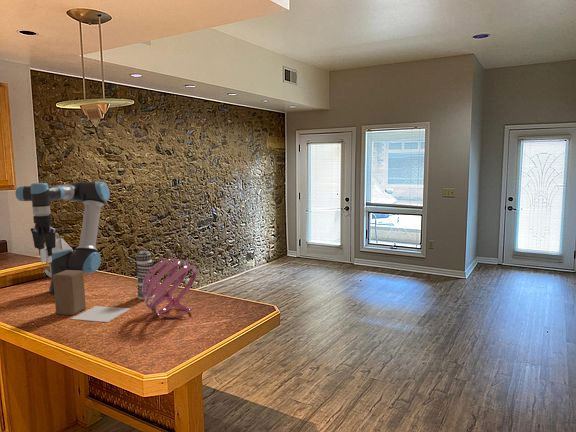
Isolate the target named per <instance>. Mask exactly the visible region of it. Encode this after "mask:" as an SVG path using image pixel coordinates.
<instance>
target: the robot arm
mask: <svg viewBox="0 0 576 432" xmlns="http://www.w3.org/2000/svg"><path fill="white" fill-rule="evenodd" d="M14 192H15V197H16V199H17V200H18V201H20V202H31V205H32V207H31V208H32V214H33V216H32V217H33V224H34V226H33V228H30V232H31V235H32V241H33V245H34V248H35V249H38V255H39V256H40V263H41V264H43V262H46V263H50V265H51V275H52V278H51V281H50V285H49V289H48V290H49V294H52V295H54V284H53V275H54V274H57V273H60V272H62V271H65V270H81V271H83V274H92V273H93V274H94V273H95V272H97V271H98V269H99V268H100V266H101V263H102V258H101V254H100V253H99V252H98V249H97V248H96V245H97V238H98V233H99V232H98V231H99V223H100V218H101V209H102V208H103V207H104V206H105V202H108V201H109V200H110V198H111V197H110V194H111V193H110V189H109V186H108V185H107V183H105V182H104V181H96V180H95V181H77V182H71V183H63V184H61V185H58V184H57V185H55V184H54V185H49V183H47V182H36V183H35V182H33V183H31V184H30V185H22V186H18V187H17V188H16V190H15V191H14ZM60 200H63V201H73V202H82V204H83V205H84V210H83V218H82V223H81V230H80V237H79V244H78V246H77V247H75V251H74V250H73V251H72V249H73V248H72V249H67V250H61V251H57V252H54V253H52V248H55V233H57V227H55V228H54V227H52V215H51V214H52V213H51V212H52V211H51V203H50V202H53V201H60ZM44 243H46V248H47V249H46V250H45V249H43V248H45V247H44Z"/></svg>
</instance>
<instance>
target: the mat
mask: <svg viewBox="0 0 576 432" xmlns="http://www.w3.org/2000/svg"><path fill="white" fill-rule="evenodd" d="M130 310H131V308H128V307H115V306H114V307H112V306H99V305H95V306H93V307H91V308H89V309H88V310H84V312H80V313H79V314H77V315H74V316H73V317H70V320H74V321H75V320H76V321H86V322H89V321H90V322H99V323H109V322H111V321H113V320H115V319H116V318H118V317H119V316H121V315H124V314H125V313H126V312H128V311H130Z"/></svg>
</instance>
